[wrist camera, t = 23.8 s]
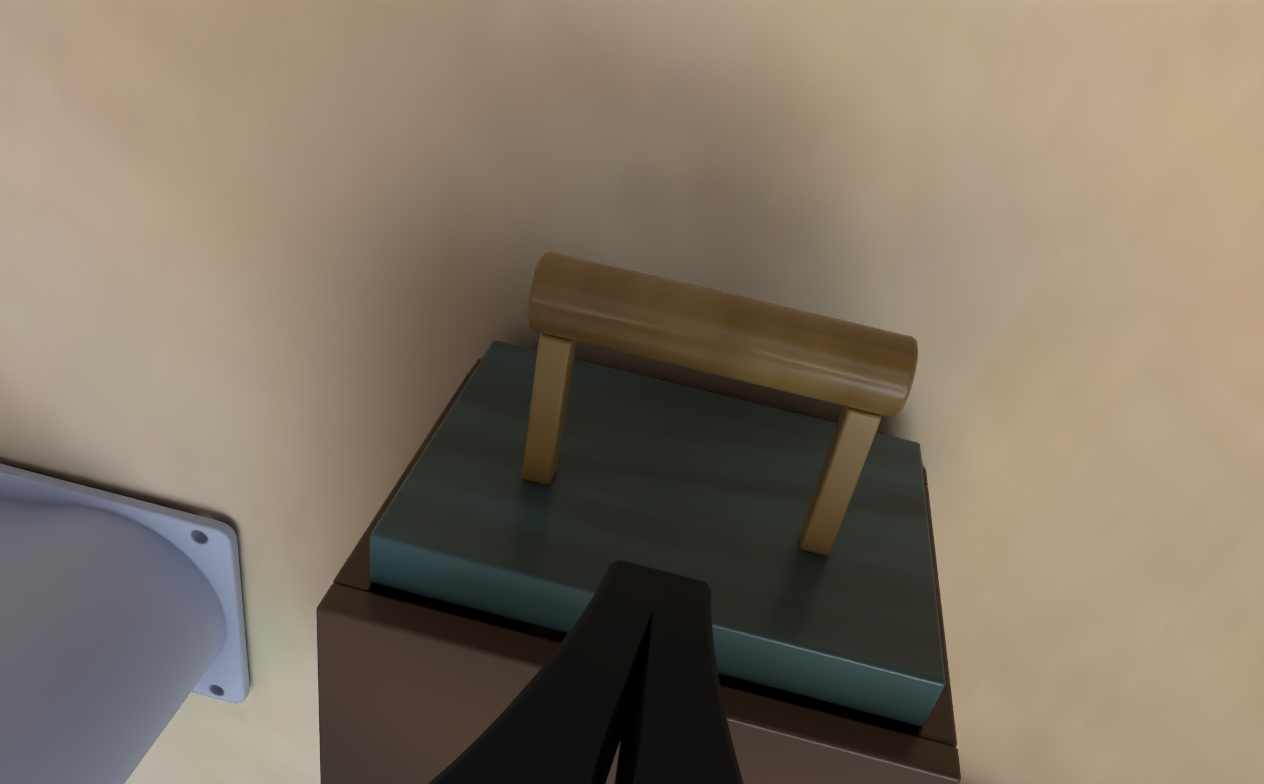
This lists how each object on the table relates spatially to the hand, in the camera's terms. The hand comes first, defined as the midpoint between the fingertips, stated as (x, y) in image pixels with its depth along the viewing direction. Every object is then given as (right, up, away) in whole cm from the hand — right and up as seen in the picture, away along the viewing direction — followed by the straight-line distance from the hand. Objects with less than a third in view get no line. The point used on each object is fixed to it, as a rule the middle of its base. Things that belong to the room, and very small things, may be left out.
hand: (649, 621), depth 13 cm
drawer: (+1, 0, +11) cm, 11 cm away
